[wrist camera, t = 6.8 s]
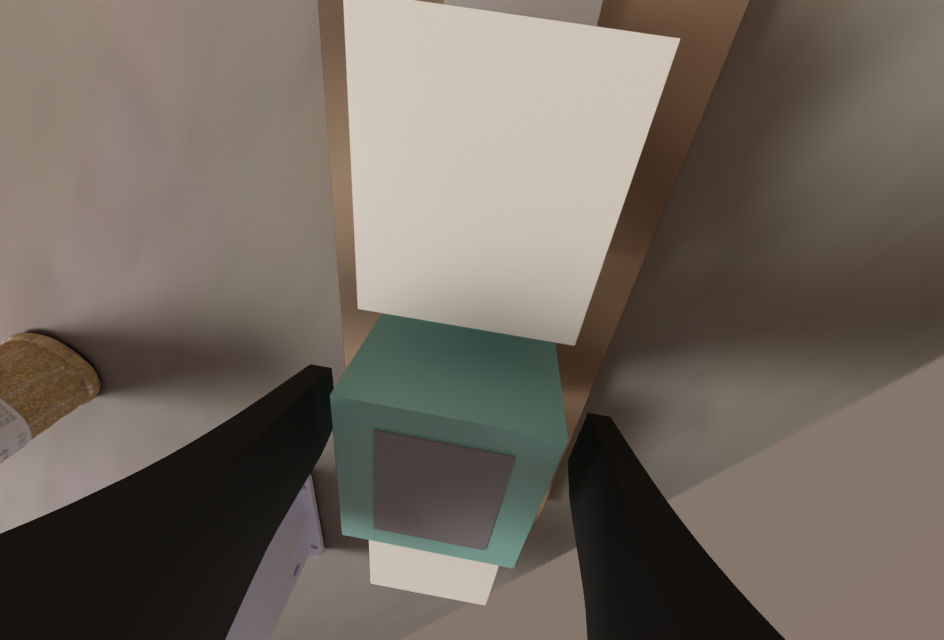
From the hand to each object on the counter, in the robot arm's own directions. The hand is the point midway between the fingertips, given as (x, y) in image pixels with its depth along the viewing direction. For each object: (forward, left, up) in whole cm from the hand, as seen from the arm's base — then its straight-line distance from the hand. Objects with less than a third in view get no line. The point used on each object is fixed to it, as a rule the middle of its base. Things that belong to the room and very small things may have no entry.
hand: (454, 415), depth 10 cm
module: (0, 0, -3) cm, 3 cm away
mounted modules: (0, 0, -3) cm, 3 cm away
